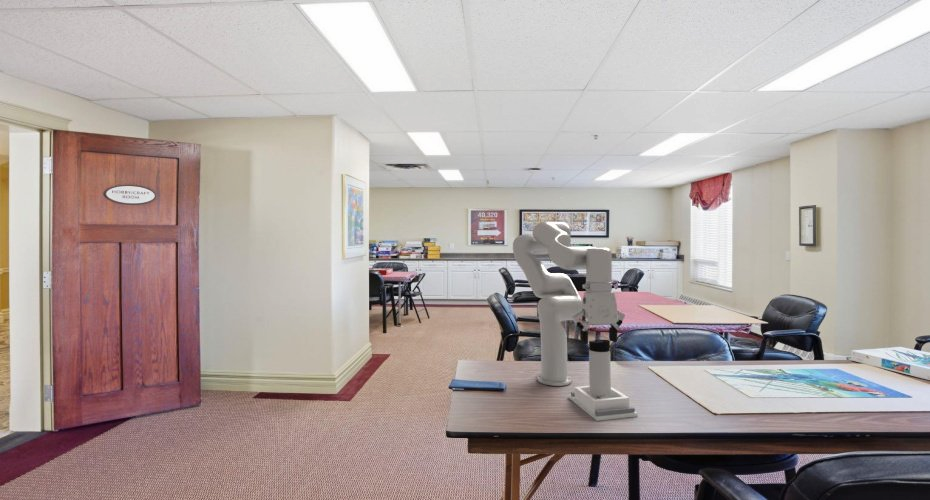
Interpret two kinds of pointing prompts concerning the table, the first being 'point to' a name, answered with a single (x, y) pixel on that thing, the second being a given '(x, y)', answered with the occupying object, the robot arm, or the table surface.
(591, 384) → the travel mug
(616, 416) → the white rectangular tray
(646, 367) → the table surface
